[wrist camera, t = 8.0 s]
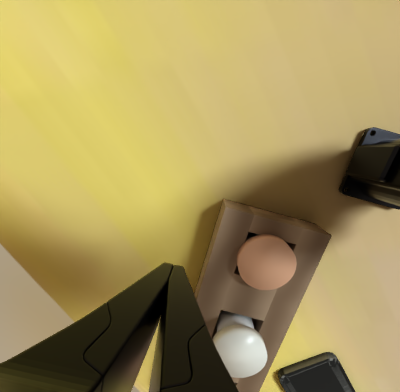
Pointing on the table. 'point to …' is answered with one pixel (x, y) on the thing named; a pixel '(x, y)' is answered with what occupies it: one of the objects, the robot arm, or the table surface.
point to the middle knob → (239, 345)
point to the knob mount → (248, 296)
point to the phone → (315, 375)
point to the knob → (265, 261)
